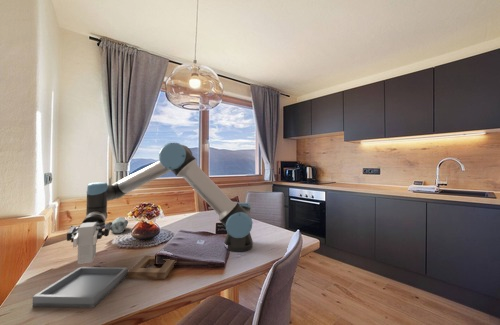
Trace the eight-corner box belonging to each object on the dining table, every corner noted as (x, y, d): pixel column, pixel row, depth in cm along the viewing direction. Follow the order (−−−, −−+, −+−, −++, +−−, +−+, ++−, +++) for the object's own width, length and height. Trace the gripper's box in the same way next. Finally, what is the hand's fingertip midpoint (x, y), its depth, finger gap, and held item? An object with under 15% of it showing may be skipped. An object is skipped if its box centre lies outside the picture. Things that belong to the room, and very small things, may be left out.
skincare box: (80, 257, 74) (82, 222, 74) (95, 255, 76) (97, 221, 76) (76, 264, 69) (77, 227, 69) (92, 262, 71) (94, 226, 71)
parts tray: (127, 275, 81) (127, 267, 81) (93, 307, 63) (93, 297, 63) (80, 274, 81) (80, 266, 81) (32, 306, 63) (32, 296, 63)
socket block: (177, 261, 94) (177, 256, 94) (164, 279, 80) (165, 272, 80) (145, 261, 93) (145, 255, 93) (127, 278, 79) (127, 271, 79)
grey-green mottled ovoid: (127, 228, 127) (120, 213, 128) (110, 237, 124) (103, 222, 125) (133, 227, 140) (127, 214, 141) (118, 235, 136) (112, 221, 137)
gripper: (118, 229, 92) (116, 248, 72) (66, 235, 83) (47, 259, 63) (118, 211, 92) (117, 226, 72) (66, 216, 83) (48, 233, 63)
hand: (84, 241), depth 68 cm, fingers closed on skincare box, 4 cm apart
